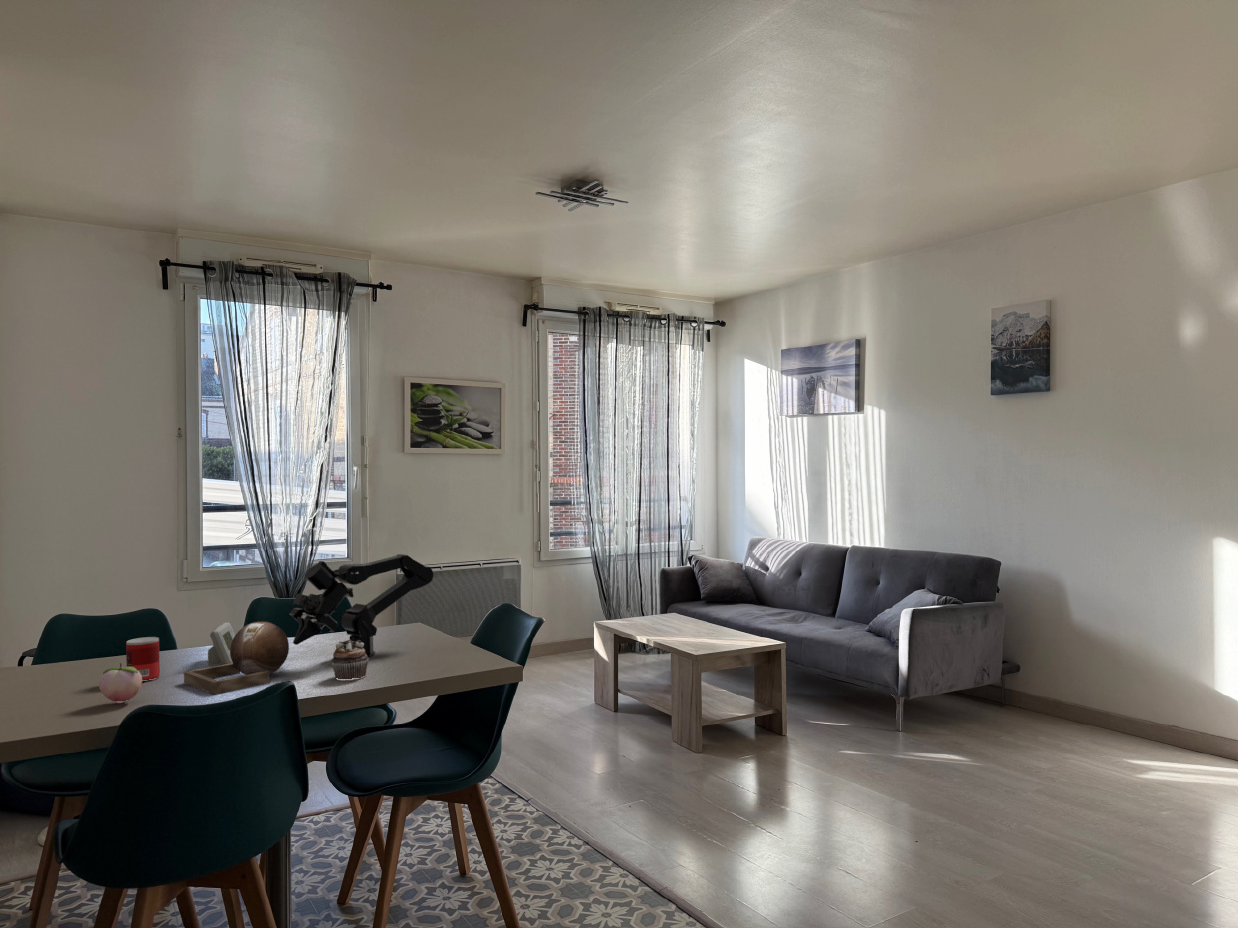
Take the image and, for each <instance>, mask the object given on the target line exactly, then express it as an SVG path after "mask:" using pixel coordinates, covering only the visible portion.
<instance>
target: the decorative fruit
mask: <svg viewBox="0 0 1238 928" xmlns="http://www.w3.org/2000/svg"><path fill="white" fill-rule="evenodd" d="M119 666H120V667H119ZM119 666H113V667H110V668H107V669H105V670H103V672H102V677H101V678H100V681H99V683H98V688H99V690H100V692H101V694H102V695H103V696H104V697H105V698H107V699H108V700H109V701H111V702H114V701H126V700H128V701H130V700H131V699H133V698H134V697H135V696H137V694H138V693H139V691H140V689H141V687H142V683H143V682H142V676H141V674H140V673H139V671H137V669H136V668H134V667H127V666H122V663H121V662H120V663H119ZM126 702H127V701H126Z"/></svg>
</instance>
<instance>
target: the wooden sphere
mask: <svg viewBox="0 0 1238 928" xmlns="http://www.w3.org/2000/svg"><path fill="white" fill-rule="evenodd" d="M289 651H290V643H289V639H288V637H287V635H286V633H285V632H284V630H283V629H282V628H281V627H280V626H278V625H276V623H272V622H269V621H262V620H261V621H255V622H251V623H248V624H246V625H244V626H243V627H242V628H240V629H239V631H237V633H236V634H235V637H234V638H233V640H232V643H231V647H230V656H231V660H232V663H233V664H234V666H235V667H236V668H237V669H238V670H239V671H240V674H243V675H248V674H253V673H258V672H263V671H269V676H270V675H271V674H273V673H275V672H277V671H278V670H279V669H280V668H281V667H282V666H283V665H284V663H285V662H286V660H287V657H288V656H289Z"/></svg>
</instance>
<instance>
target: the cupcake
mask: <svg viewBox="0 0 1238 928" xmlns="http://www.w3.org/2000/svg"><path fill="white" fill-rule="evenodd" d="M363 646H364V643H362V642H361V641H360V640H356V641H352V640H350V639H347V640H343V641H339V642H337V643H336V644H335V648H336V649H335V650H334V652H333V654H332V656H333V658H332V659H331V664H332V668H333V673H334V677H335V678H334V679H336V678H338V679H352V678H361V677H363V676H365V675H366V676H367V670H368V663H369V658H370V657H368V656H367V654H366V653H365V649H364V648H363ZM366 676H365V677H366Z"/></svg>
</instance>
